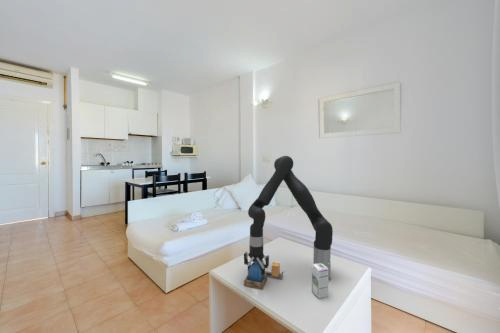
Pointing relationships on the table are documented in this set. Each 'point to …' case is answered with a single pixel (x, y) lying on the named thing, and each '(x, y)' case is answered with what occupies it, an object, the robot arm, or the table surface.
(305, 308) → the table surface
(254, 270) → the perfume bottle
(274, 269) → the tan rectangular block
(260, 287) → the tray
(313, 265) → the syrup box
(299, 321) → the table surface
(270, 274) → the rail
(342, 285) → the table surface
